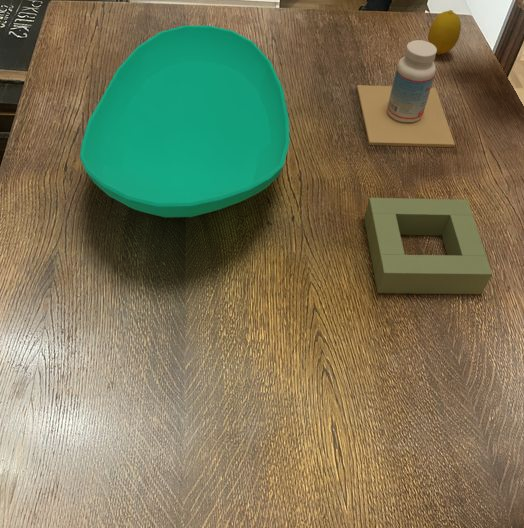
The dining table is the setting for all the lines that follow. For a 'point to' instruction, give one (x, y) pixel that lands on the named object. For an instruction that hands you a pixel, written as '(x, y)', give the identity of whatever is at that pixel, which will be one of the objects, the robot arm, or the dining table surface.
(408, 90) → the pill bottle
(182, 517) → the dining table surface
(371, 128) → the mat
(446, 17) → the lemon
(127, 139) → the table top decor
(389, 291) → the stand
